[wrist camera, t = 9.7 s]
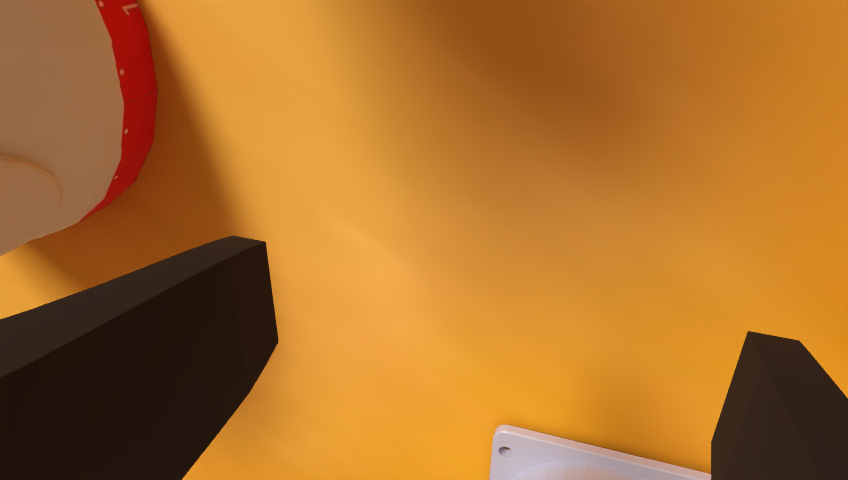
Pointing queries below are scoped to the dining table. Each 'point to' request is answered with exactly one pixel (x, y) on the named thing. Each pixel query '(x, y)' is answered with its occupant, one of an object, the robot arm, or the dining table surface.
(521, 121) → the dining table surface
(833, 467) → the robot arm
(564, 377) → the dining table surface
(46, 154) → the kitchen timer
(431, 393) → the dining table surface
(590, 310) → the dining table surface
